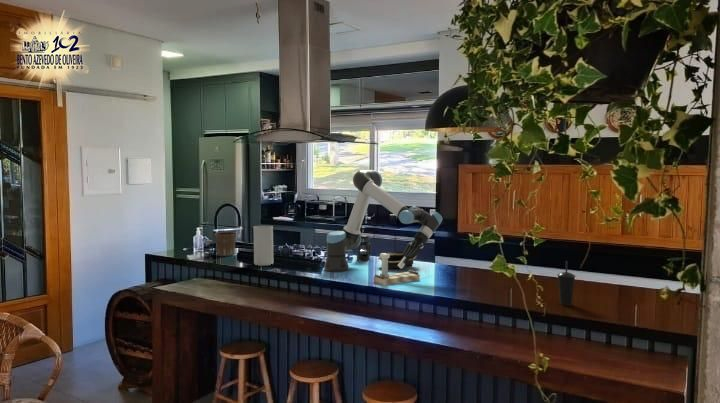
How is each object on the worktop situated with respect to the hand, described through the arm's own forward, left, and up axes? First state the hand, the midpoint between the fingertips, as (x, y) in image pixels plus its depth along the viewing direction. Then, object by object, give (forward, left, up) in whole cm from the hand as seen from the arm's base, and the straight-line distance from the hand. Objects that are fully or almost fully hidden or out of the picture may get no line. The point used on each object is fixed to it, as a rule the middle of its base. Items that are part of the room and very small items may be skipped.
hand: (399, 267), depth 283 cm
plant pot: (-82, -126, -8) cm, 150 cm away
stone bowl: (-39, -1, -8) cm, 40 cm away
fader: (+6, -8, -4) cm, 11 cm away
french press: (-65, -24, -8) cm, 69 cm away
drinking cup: (+48, +74, -8) cm, 89 cm away
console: (+1, -2, -8) cm, 8 cm away
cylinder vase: (-47, -89, -8) cm, 101 cm away
